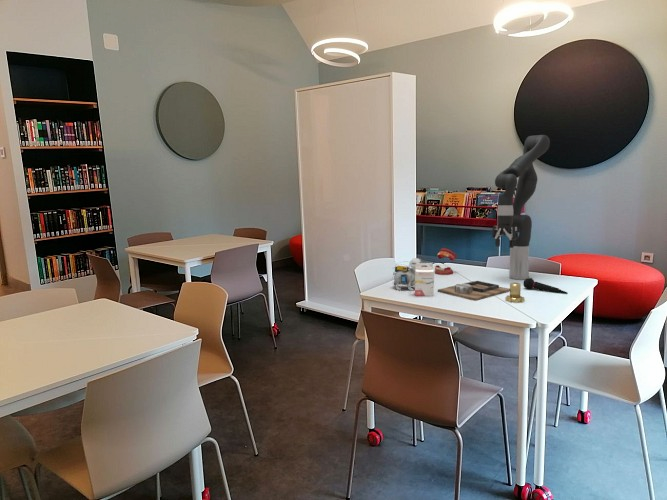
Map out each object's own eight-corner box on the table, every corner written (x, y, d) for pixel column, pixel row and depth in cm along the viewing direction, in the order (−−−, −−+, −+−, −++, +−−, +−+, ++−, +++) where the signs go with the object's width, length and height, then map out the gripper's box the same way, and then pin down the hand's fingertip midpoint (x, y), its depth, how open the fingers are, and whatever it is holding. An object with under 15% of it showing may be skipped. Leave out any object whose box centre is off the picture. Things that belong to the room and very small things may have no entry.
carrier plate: (472, 283, 251) (473, 275, 250) (510, 291, 233) (511, 282, 233) (437, 291, 236) (437, 283, 235) (475, 300, 218) (475, 291, 218)
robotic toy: (425, 292, 236) (425, 261, 233) (389, 290, 241) (388, 260, 239) (428, 286, 247) (428, 256, 245) (394, 284, 253) (394, 255, 251)
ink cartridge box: (415, 296, 229) (415, 265, 226) (414, 293, 234) (414, 263, 231) (434, 296, 228) (434, 264, 225) (433, 293, 233) (433, 262, 230)
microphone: (567, 299, 227) (523, 288, 240) (570, 287, 227) (527, 277, 240) (564, 298, 223) (520, 287, 236) (567, 286, 223) (523, 275, 236)
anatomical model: (428, 272, 276) (435, 246, 277) (436, 275, 281) (443, 250, 282) (444, 275, 268) (451, 248, 269) (452, 278, 273) (459, 252, 275)
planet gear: (512, 297, 222) (512, 281, 221) (527, 300, 216) (528, 283, 215) (501, 300, 218) (502, 283, 217) (517, 303, 212) (517, 286, 210)
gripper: (522, 214, 242) (521, 247, 243) (499, 214, 254) (498, 245, 255) (511, 215, 238) (510, 248, 239) (488, 214, 250) (488, 246, 252)
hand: (504, 247), depth 247 cm, fingers open, 8 cm apart
